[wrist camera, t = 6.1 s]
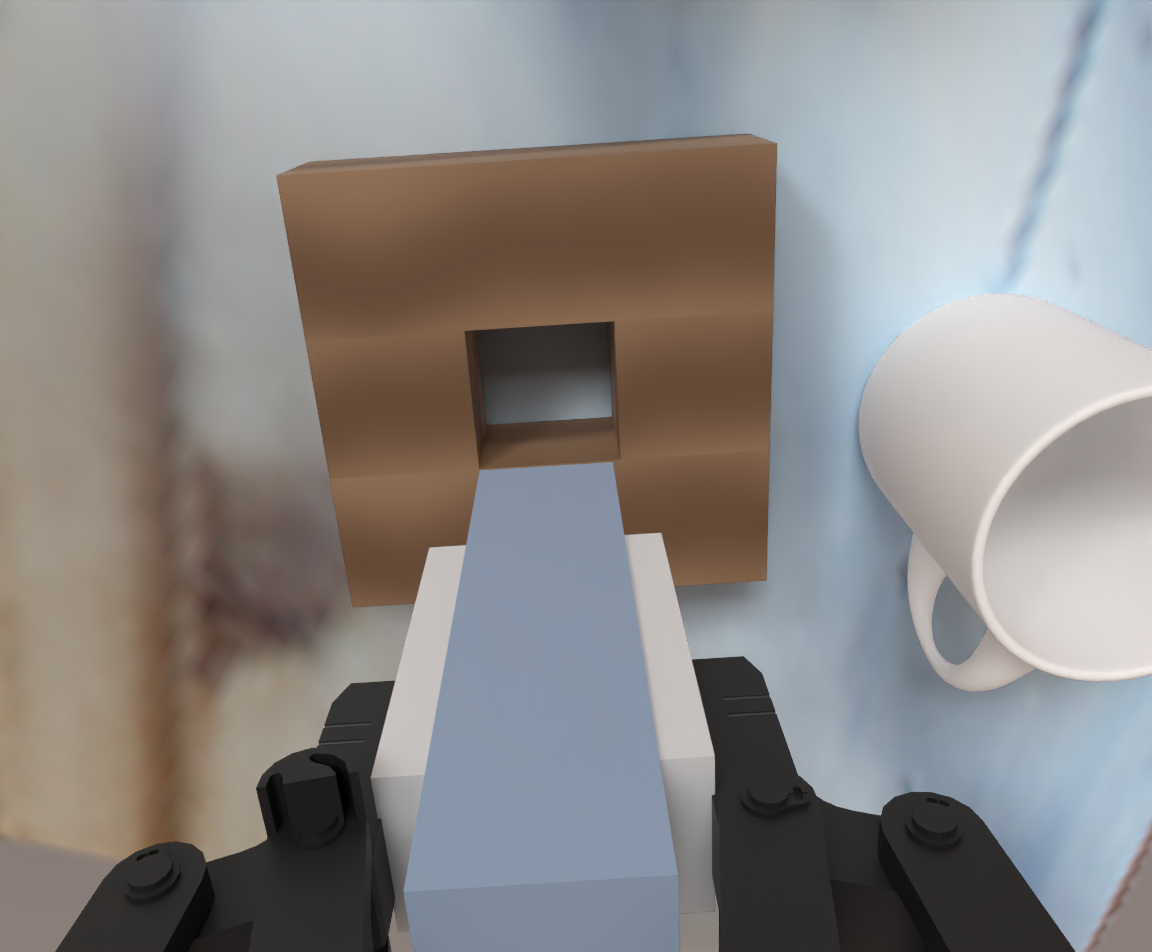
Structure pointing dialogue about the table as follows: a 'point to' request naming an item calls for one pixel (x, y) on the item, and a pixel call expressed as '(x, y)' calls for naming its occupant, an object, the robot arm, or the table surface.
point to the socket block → (540, 298)
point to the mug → (1021, 484)
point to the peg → (544, 738)
